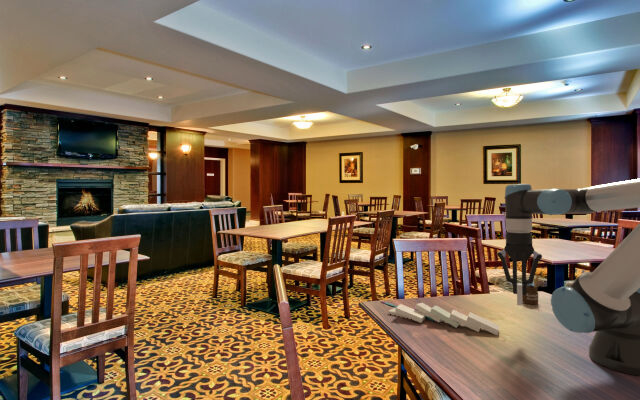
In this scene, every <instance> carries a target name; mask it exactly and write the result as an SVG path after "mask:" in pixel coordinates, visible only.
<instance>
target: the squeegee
mask: <svg viewBox="0 0 640 400" xmlns="http://www.w3.org/2000/svg"><path fill="white" fill-rule="evenodd" d="M382 302H383V304H385V305H388V306H391V307H393V308H396V307H398V306H399V305H394V304H392V303H389V302H385V301H382ZM382 302H381V303H382ZM413 309H415V307H414V308H413ZM415 310H417V309H415ZM417 311H418V310H417ZM425 319H427V320H430V321H432V322H435V323H438V322H437V321H435V320H434V319H432V318H430V317H428V316H427V315H426V317H425Z"/></svg>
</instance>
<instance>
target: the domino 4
mask: <svg viewBox="0 0 640 400" xmlns="http://www.w3.org/2000/svg"><path fill="white" fill-rule="evenodd" d="M431 308H432V309H431V311H430V313H432V314H433V315H435V316H437V317H439V318H440V319H442V320H444V321H443V322H446V323H448V324H449V325H451V326H452V327H454V328H456V329H458V327H459V326H460V325H461V324H460V323H458V322H456V321H454V320H452V319H450V318H449V317H450V314H451V313H450V312H449V311H447V310H445V309H444V308H442V307H440V306H438V305H434V306H433V307H431Z"/></svg>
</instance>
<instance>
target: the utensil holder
mask: <svg viewBox="0 0 640 400" xmlns="http://www.w3.org/2000/svg"><path fill="white" fill-rule="evenodd" d="M539 277H540V275H538V274H535V277H534V285H531V284H527V286H526V292H527V294H526V295H522V298H523V304H524V305H525V304H526V305H530V306H531V305H532V306H533V305H534V306H537V305H539V292H538V287H537V283H538V281H539Z"/></svg>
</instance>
